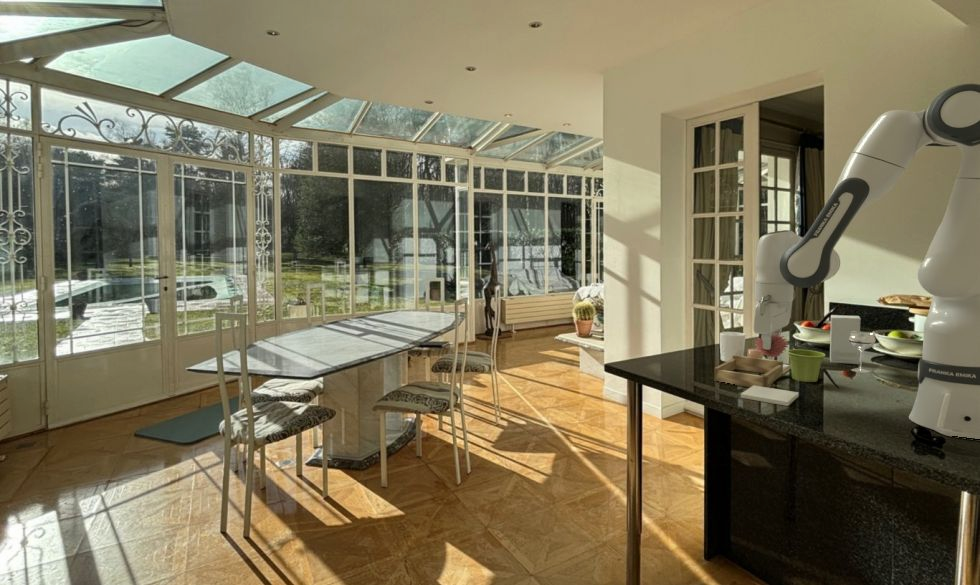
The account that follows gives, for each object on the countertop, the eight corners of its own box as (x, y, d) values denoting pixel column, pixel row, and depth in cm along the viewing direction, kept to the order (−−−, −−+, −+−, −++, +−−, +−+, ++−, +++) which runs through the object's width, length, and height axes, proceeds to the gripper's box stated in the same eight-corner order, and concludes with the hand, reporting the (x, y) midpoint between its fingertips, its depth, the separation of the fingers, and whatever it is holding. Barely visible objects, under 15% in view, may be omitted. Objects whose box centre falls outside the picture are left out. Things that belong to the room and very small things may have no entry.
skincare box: (858, 361, 175) (860, 315, 173) (859, 365, 169) (862, 318, 168) (828, 358, 179) (830, 314, 178) (829, 362, 174) (831, 316, 172)
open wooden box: (782, 377, 155) (783, 361, 154) (766, 389, 142) (766, 372, 142) (733, 370, 164) (733, 355, 164) (714, 381, 152) (714, 364, 151)
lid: (795, 367, 167) (796, 364, 167) (782, 377, 155) (783, 373, 155) (749, 361, 176) (749, 358, 176) (733, 370, 164) (733, 366, 164)
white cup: (747, 365, 170) (748, 336, 169) (721, 365, 172) (722, 335, 171) (740, 360, 178) (741, 331, 177) (716, 359, 180) (717, 331, 179)
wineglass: (879, 373, 159) (881, 334, 158) (857, 373, 159) (859, 334, 158) (863, 368, 166) (865, 331, 164) (842, 368, 166) (844, 331, 164)
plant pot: (817, 378, 153) (818, 350, 152) (828, 387, 144) (830, 356, 143) (782, 377, 156) (783, 348, 155) (791, 385, 147) (792, 355, 146)
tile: (798, 396, 136) (798, 392, 136) (787, 406, 128) (787, 402, 128) (753, 388, 144) (753, 385, 143) (740, 397, 135) (740, 393, 135)
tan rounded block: (764, 365, 167) (765, 349, 166) (758, 367, 164) (759, 352, 164) (750, 362, 170) (751, 347, 170) (744, 365, 167) (745, 349, 167)
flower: (781, 338, 129) (779, 323, 133) (748, 347, 134) (748, 333, 138) (795, 359, 131) (794, 344, 135) (763, 367, 136) (762, 352, 140)
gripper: (776, 298, 124) (773, 355, 125) (796, 291, 139) (794, 342, 140) (747, 296, 128) (745, 351, 129) (770, 290, 143) (768, 339, 144)
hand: (771, 346), depth 135 cm, fingers closed on flower, 6 cm apart
